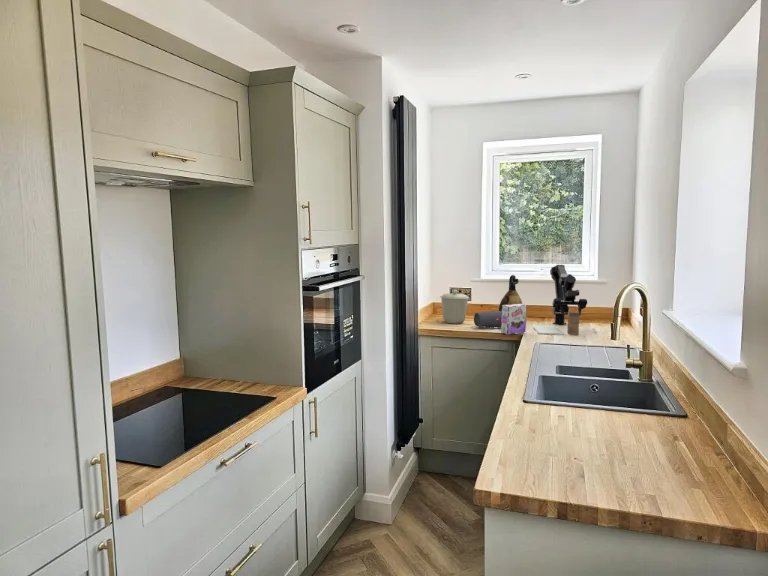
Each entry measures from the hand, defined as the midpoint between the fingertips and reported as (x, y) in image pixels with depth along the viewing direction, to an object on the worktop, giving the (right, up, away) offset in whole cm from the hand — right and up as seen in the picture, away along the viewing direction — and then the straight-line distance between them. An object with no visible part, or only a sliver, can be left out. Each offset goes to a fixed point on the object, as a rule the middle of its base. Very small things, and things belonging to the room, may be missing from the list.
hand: (571, 314), depth 304 cm
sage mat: (-12, -10, +6) cm, 17 cm away
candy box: (-34, -11, -1) cm, 36 cm away
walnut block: (-1, -11, -3) cm, 12 cm away
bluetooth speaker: (-42, -9, +16) cm, 46 cm away
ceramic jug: (-26, -6, +39) cm, 48 cm away
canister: (-64, -7, +32) cm, 72 cm away
